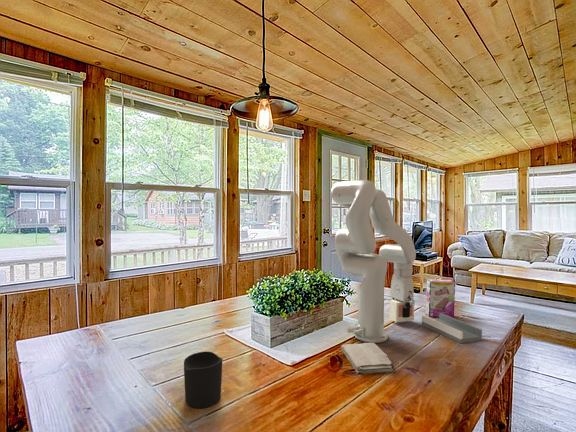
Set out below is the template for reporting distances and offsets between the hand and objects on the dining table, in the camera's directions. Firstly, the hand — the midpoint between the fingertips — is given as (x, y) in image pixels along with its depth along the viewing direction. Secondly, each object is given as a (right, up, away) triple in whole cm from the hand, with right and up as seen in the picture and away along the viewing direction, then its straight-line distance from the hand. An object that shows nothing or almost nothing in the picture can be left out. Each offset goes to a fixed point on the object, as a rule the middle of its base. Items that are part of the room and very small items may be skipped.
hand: (401, 314), depth 140 cm
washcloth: (-24, -4, -35) cm, 42 cm away
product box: (0, -2, 0) cm, 2 cm away
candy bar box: (+21, -4, +9) cm, 23 cm away
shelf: (+15, -4, -10) cm, 19 cm away
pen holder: (-70, -4, -57) cm, 91 cm away
